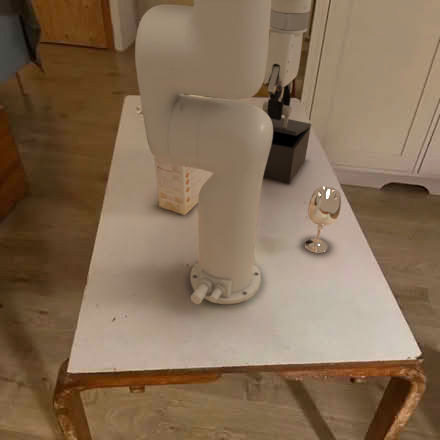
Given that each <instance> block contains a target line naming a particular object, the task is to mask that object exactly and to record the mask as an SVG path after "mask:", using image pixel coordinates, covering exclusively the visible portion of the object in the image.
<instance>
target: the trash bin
mask: <svg viewBox="0 0 440 440" xmlns="http://www.w3.org/2000/svg"><path fill="white" fill-rule="evenodd" d="M311 127H312V126H311ZM311 127H310V128H308V129H307V130H305V131H303V132H301V133H300V134H298V135H296V136H294V135H289V134H285V133H280V132H276V131H273V139H272V144H271V148H270V152H269V156H268V159H267V163H266V167H265V171H264V176H263V179H266V180H271V181H275V182H279V183H283V184H287V185H290V184H291V182H292V181H293V179H294V178H295V176H296V175H297V174H298V172H299V170H300V169H301V168H302V166H303V165H304V163H305V162H306V157H307V152H308V147H309V146H308V145H309V139H310V134H311Z"/></svg>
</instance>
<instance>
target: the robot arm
mask: <svg viewBox="0 0 440 440" xmlns="http://www.w3.org/2000/svg"><path fill="white" fill-rule="evenodd" d="M311 7H312V0H193V5H181V4H171V3H169V4H168V3H164V4H157V5H154V6H153V7H151V8H149V9H148V10H147V11H146V12H145V13H144V14H143V16H142V17H141V19H140V21H139V23H138V25H137V26H138V27H137V30H136V31H137V32H136V36H135V43H134V44H135V45H134V60H135V71H136V78H137V84H138V89H139V90H138V91H139V97H140V103H141V110H142V116H143V124H144V130H145V135H146V136H145V137H146V141H147V144H148V148H149V150H150V152H151V154H152V156H154V159H155V158H157V159H158V160H160V161H162V162H165V163H169V164H173V165H178V166H184V167H190V168H196V169H202V170H205V171H210V172H212V173H214V174H213V175H211V176H210V177H209V178H208V180H207V181H206V182H205V183H204V185H203V186H202V188H201V190H200V192H199V196H198V203H197V217H198V218H197V222H198V223H197V224H198V228H197V230H198V261H197V262H196V263H195V264H194V265H193V267H192V269H191V271H190V285H191V287H192V289H193V292H192V294H191V295H190V300H191V302H193V303H194V304H196V305H199V304H201V303H202V302H203V300H206V301H208V302H211V303H214V304H219V305H235V304H238V303H242V302H245V301H247V300H249V299H251V297H254V295H255V294H256V293H257V292H258V291H259V289H260V286H261V282H262V281H261V279H262V278H261V277H262V275H261V271H260V270H259V268H258V266H257V265H256V264H255V263H254V262H255V252H256V251H255V250H256V243H257V242H256V241H257V232H258V224H259V223H258V221H259V211H260V203H261V193H262V185H263V181H264V178H263V176H264V171H265V167H266V163H267V159H268V156H269V152H270V148H271V144H272V139H273V125H272V121H271V119H275V120H281V118H283V115H282V110H283V105H286V106H291V98H292V90H293V81H294V79H296V78H297V76H298V73H299V69H300V62H301V55H302V47H303V46H302V45H303V36H304V35H303V34H304V33H306V32H308V29H309V20H310V14H311ZM263 85H268V86H267V92H268V97H267V98H268V101H267V102H268V110H267V113H266V112H265V111H263V108H260V107H258V106H256V105H254V104H250V103H247V102H243V101H241V100H247V99H250V98H252V97H254V96H255V95H256V94H257V93H258V92H259V91H260V89H261V88H262V86H263ZM277 89H278V90H277ZM189 95H196V96H203V97H196V96H189ZM204 97H206V98H204ZM239 100H240V101H239Z"/></svg>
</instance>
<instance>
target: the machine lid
mask: <svg viewBox="0 0 440 440" xmlns="http://www.w3.org/2000/svg"><path fill="white" fill-rule="evenodd" d="M262 110H263V111H265V112H266V113H267V110H268V101H264V102H263V104H262ZM291 114H292V106H291V105H290V106H286V105H283V110H282V116H284V117H282V118H281V120H275V119H271V121H272V125H273V131H276V132H280V133H285V134H289V135H294V136H296V135H298V134H300V133H301V132H303V131H305V130H307V129H308V128H310V127H312V123H310V122H306V121H305V122H304V121H299V120H295V119H290V118H289V117H290V116H291ZM310 129H311V128H310Z"/></svg>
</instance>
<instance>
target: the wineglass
mask: <svg viewBox="0 0 440 440" xmlns="http://www.w3.org/2000/svg"><path fill="white" fill-rule="evenodd" d="M341 205H342V199H341V192H340V191H339V190H338V189H336V188H334V187H331V186H319V187H317V188H315V190H314V191H313V193H312V195H311V197H310V199H309V203H308V206H307V215H308V218H309V220H310V221H311V222H312V223H313V224H315V225H316V226H317V227H316V228H317V233H316V234H317V235H316V237H315V238H309V239H307V240H305V242H304V247H305V249H306V250H307V251H309V252H311V253H313V254H314V253H315V254H321V253H324V252H326V251H327V250H328V244H327V243H326V242H325V241H324V240H322V239H320V235H321V232H322V230H323V228H324V227H325V226H330V225H332V224H334V223H335V222H336V221H337V219H338V218H339V215H340V212H341V207H342V206H341Z"/></svg>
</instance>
